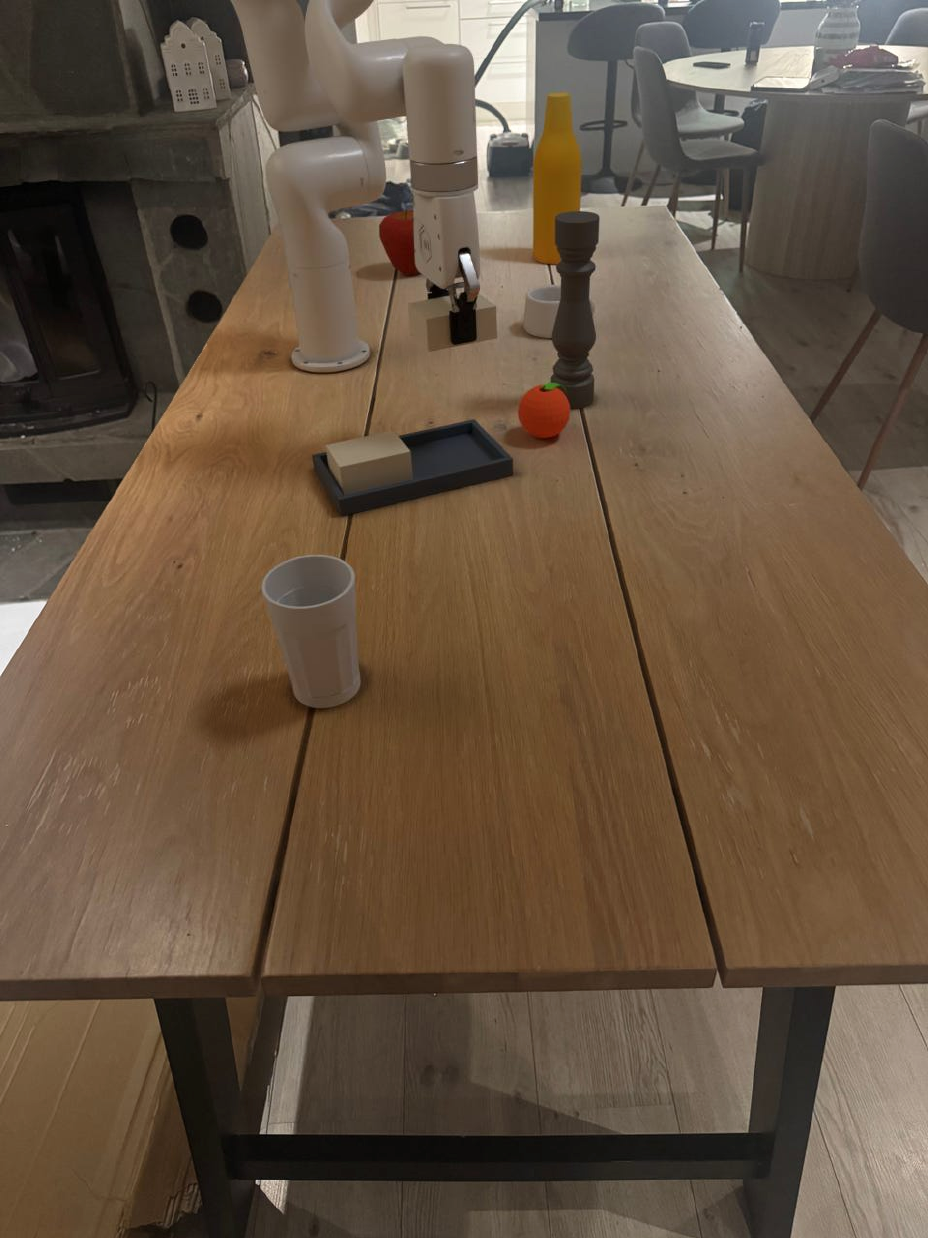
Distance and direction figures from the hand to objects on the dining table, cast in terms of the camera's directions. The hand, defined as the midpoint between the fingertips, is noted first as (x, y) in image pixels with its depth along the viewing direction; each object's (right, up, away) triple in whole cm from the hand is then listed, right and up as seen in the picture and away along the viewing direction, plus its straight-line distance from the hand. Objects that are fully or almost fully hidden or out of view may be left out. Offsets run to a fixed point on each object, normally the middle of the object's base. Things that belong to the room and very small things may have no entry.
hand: (452, 331), depth 114 cm
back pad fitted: (-10, -18, +2) cm, 20 cm away
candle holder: (+17, -4, +20) cm, 26 cm away
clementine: (+13, -11, +12) cm, 20 cm away
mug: (+17, +13, +42) cm, 47 cm away
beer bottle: (+20, +37, +73) cm, 84 cm away
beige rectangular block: (0, -1, 0) cm, 1 cm away
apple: (-9, +33, +69) cm, 77 cm away
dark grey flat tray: (-5, -17, +4) cm, 18 cm away
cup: (-11, -42, -27) cm, 51 cm away
